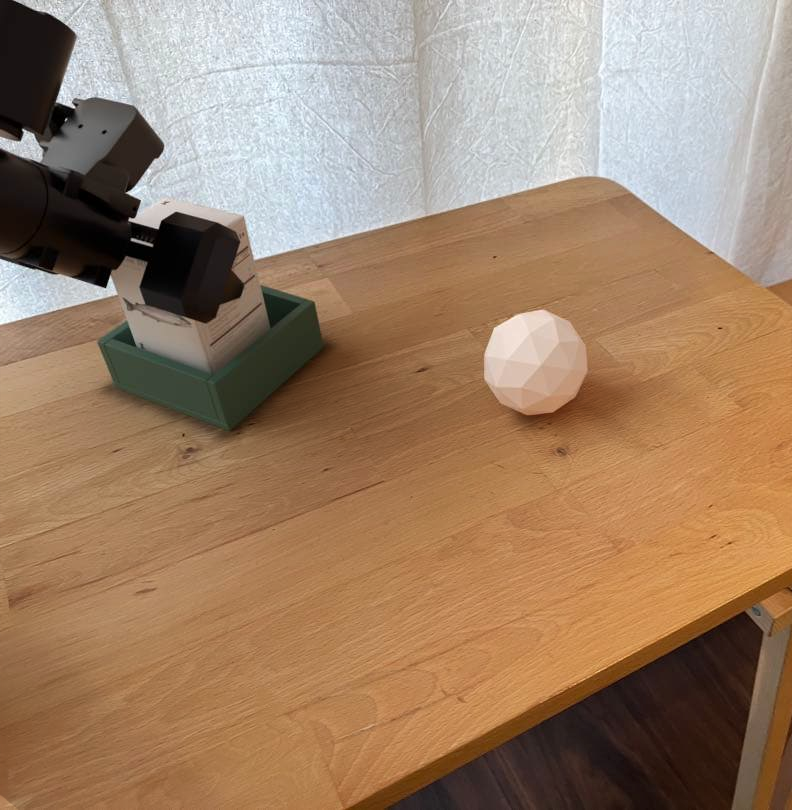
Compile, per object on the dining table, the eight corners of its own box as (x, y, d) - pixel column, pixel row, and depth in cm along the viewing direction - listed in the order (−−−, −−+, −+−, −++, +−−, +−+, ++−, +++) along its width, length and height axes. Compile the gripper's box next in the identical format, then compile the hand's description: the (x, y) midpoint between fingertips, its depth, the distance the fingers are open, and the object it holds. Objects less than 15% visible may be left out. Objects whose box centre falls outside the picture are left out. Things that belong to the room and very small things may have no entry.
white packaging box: (145, 380, 69) (91, 238, 61) (208, 329, 74) (166, 192, 66) (220, 404, 67) (175, 261, 59) (280, 350, 72) (246, 211, 64)
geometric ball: (561, 431, 69) (612, 398, 63) (466, 422, 66) (509, 385, 59) (556, 343, 72) (604, 302, 65) (465, 329, 69) (505, 285, 62)
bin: (115, 387, 69) (95, 341, 66) (216, 312, 77) (203, 267, 74) (229, 431, 66) (214, 383, 63) (324, 347, 73) (314, 301, 70)
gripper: (177, 100, 48) (328, 198, 63) (-58, 50, 54) (131, 151, 69) (113, 294, 48) (280, 347, 62) (-116, 222, 54) (86, 286, 68)
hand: (191, 276), depth 66 cm, fingers open, 9 cm apart
